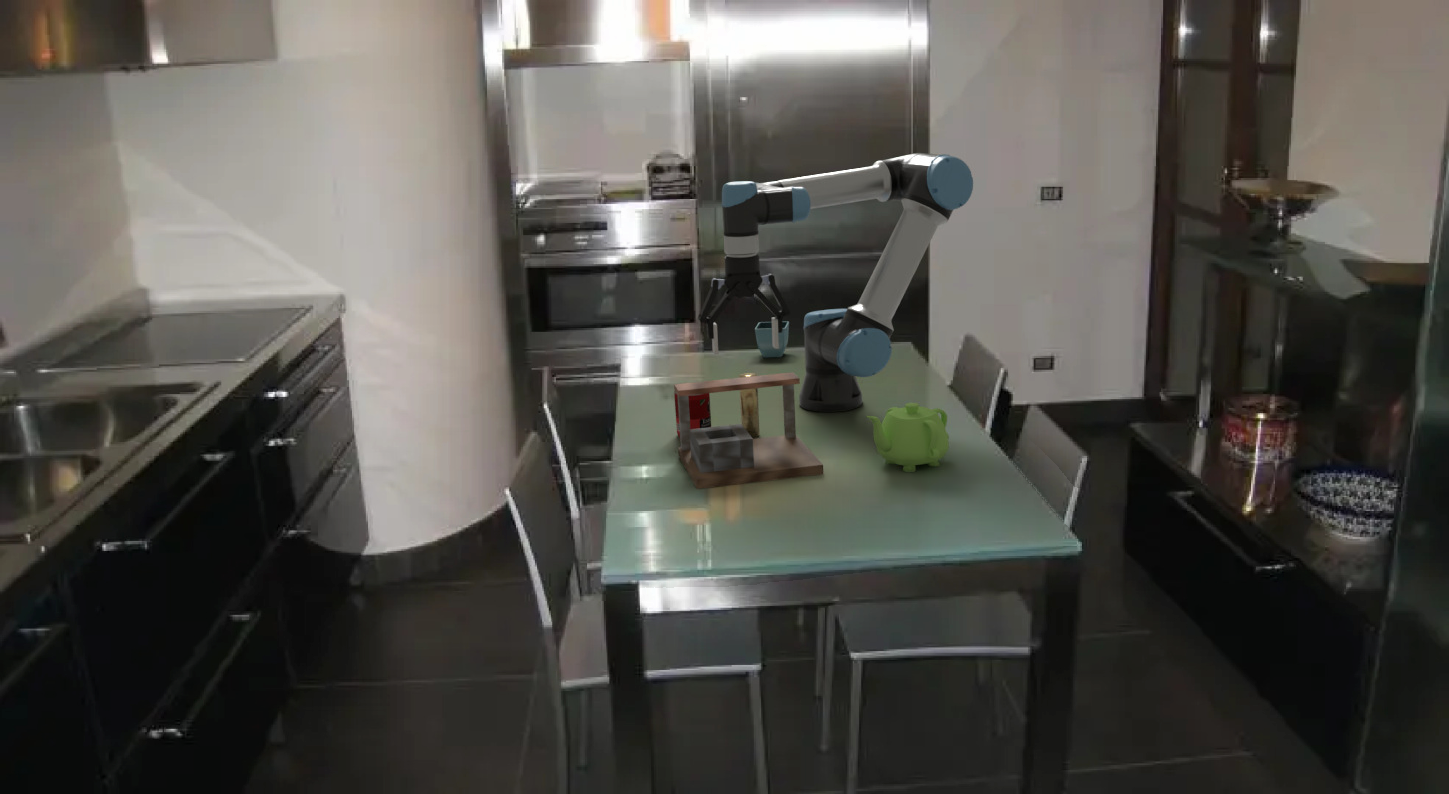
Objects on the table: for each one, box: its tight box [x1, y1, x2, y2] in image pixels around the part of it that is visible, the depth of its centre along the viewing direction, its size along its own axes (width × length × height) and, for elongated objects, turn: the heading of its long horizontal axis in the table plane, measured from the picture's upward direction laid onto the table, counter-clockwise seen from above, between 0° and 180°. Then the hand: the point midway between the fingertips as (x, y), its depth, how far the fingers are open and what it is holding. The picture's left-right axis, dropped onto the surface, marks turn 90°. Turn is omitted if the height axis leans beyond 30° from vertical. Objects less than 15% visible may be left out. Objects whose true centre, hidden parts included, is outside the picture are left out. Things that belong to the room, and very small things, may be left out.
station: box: [673, 371, 824, 490], centre depth 255 cm, size 26×22×16 cm
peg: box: [738, 372, 761, 439], centre depth 275 cm, size 4×4×14 cm
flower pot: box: [754, 320, 790, 359], centre depth 348 cm, size 9×9×9 cm
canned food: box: [673, 389, 712, 438], centre depth 278 cm, size 8×8×11 cm
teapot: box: [866, 402, 950, 473], centre depth 250 cm, size 16×14×13 cm
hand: (745, 350), depth 271 cm, fingers open, 13 cm apart
